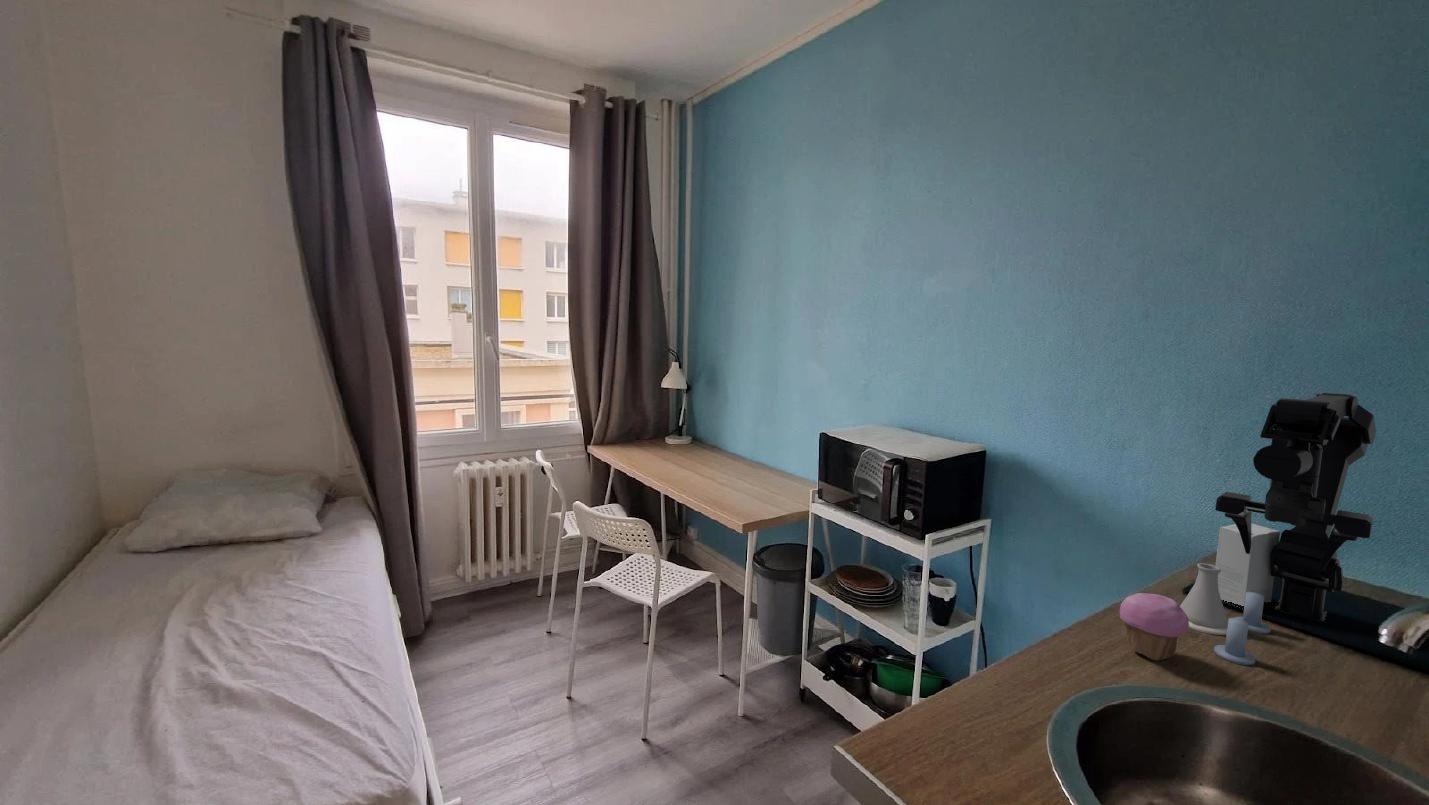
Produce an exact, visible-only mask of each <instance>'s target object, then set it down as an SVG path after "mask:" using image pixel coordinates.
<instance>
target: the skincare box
mask: <svg viewBox="0 0 1429 805" xmlns="http://www.w3.org/2000/svg"><path fill="white" fill-rule="evenodd" d="M1218 533H1219V535H1218V542H1217V551H1216V558H1215V559H1216V560H1215V565H1214V566H1217V567H1219V568H1220V569H1221V572H1220V573H1218V580H1217V581H1218V589H1219V594H1220V597H1221V601H1223V600H1224V601H1223V602H1225V601H1227V602H1226V603H1228V602H1232V603H1234V604H1238V605H1241V606H1244V605H1245V597H1246V592H1255V593H1258V594H1261V595H1263V596H1264V602H1270V603H1271V602H1272V595H1273V589H1274V581H1275V577H1274V576H1271V553H1272V550H1273V548H1274V546H1275V545H1278V543H1279V541H1280V538H1281V531H1280V530H1277V529H1273V528H1269V527H1267V526H1263V525H1258V524H1255V523H1253V522H1251V550H1250V554H1246V552H1245V548H1244V545H1243V542H1242V539H1241V535H1240V533H1239V530H1238V528H1237V526H1236V524H1235V523H1234V524H1230V525H1225V526H1224V525H1223V526H1220V527H1219V532H1218Z"/></svg>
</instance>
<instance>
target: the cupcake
mask: <svg viewBox="0 0 1429 805" xmlns="http://www.w3.org/2000/svg"><path fill="white" fill-rule="evenodd" d="M1119 617H1120V619H1121V621H1122V622H1123V623H1124V630H1125V635H1126V640H1127V642H1128V644H1129V646H1130V647H1131V649H1132V651H1134V653H1137V654H1141V655H1143V656H1145V657H1147V658H1148V659H1150V660H1152V661H1157V662H1159V661H1161V660H1167V659H1171V658H1172V657H1173V656H1175V654H1176V651H1177V644H1178V643H1177V642H1178V639H1179V637H1181V636H1182V635H1184V634H1185V633H1186V632H1187V631H1188V630H1189V629H1190V628H1189V621H1188V617H1187V615H1186V614H1185V612H1184V611H1183V609H1182V608H1181V607H1180V605H1179V604H1178V602H1177V601H1175V600H1174V599H1172V598H1170V597H1167V596H1165V595H1162V594H1156V593H1144V592H1137V593H1135V594H1131V595H1128V596H1127V597H1126V598H1124V600H1123V601H1122V602H1121V604H1120V606H1119Z"/></svg>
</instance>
